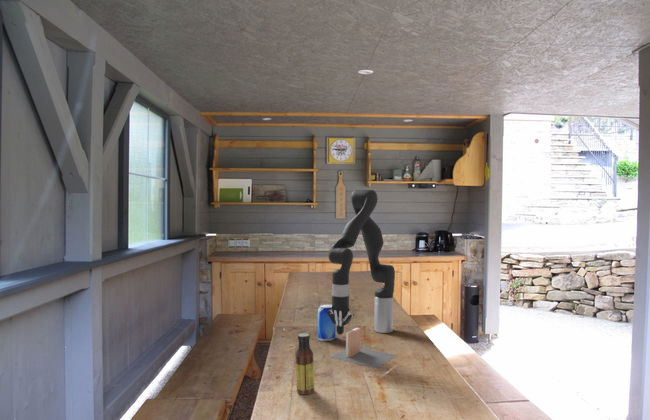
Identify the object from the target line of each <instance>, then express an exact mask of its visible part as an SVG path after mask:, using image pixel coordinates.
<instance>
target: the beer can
mask: <svg viewBox="0 0 650 420" xmlns="http://www.w3.org/2000/svg"><path fill="white" fill-rule="evenodd" d="M331 307H332V303H331V304H330V303H325V304H324V303H322V304H319V307H318V309H317V338H318V340H319V341H320V342H326V341H327V342H329V341H333V340H335V339H336V337H337V336H336V334H337V325H336V324H333V323H332V321H331V319H330V318H329V316H328V314H327V311H329V310H331ZM333 314H334V313H333Z"/></svg>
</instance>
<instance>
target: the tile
mask: <svg viewBox="0 0 650 420" xmlns="http://www.w3.org/2000/svg"><path fill="white" fill-rule="evenodd" d="M360 348H361V327H355V328H353V329H351V330H348V331H347V332H345V349H346V357H351V356H353V355H355V354H357V353H358V352H360Z"/></svg>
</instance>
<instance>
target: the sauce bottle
mask: <svg viewBox="0 0 650 420" xmlns="http://www.w3.org/2000/svg"><path fill="white" fill-rule="evenodd" d="M310 337H311V336H310V334H309V333H306V332H302V333H299V334H297V340H298V347H297V350H296V352H295V380H296V381H295V382H296V384H295V386H296V392H297V393H298V394H300V395H305V396H306V395H311V394H313V393H314V392H315V362H314V352H313V351H312V349H311V347H310Z"/></svg>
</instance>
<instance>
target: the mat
mask: <svg viewBox="0 0 650 420" xmlns="http://www.w3.org/2000/svg"><path fill="white" fill-rule="evenodd" d="M397 356H398V355H397V354H393V353H387V352H382V351H379V350H374V349H368V348H365V347H364V348H363V347H360V352H358V353H357V354H355V355H353V356H351V357H346V348H345V349H342V350H341V351H339V352H337V353H335V354H334V355H331V356H330V357H329V358H330V359H335V360H338V361H342V362H343V361H344V362H348V363H352V364H356V365H361V366H364V367H369V368H374V369H379V368H381V367H383V366H384V365H385V364H387V363H388V362H389V361H391V360H392V359H394V358H395V357H397Z"/></svg>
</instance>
